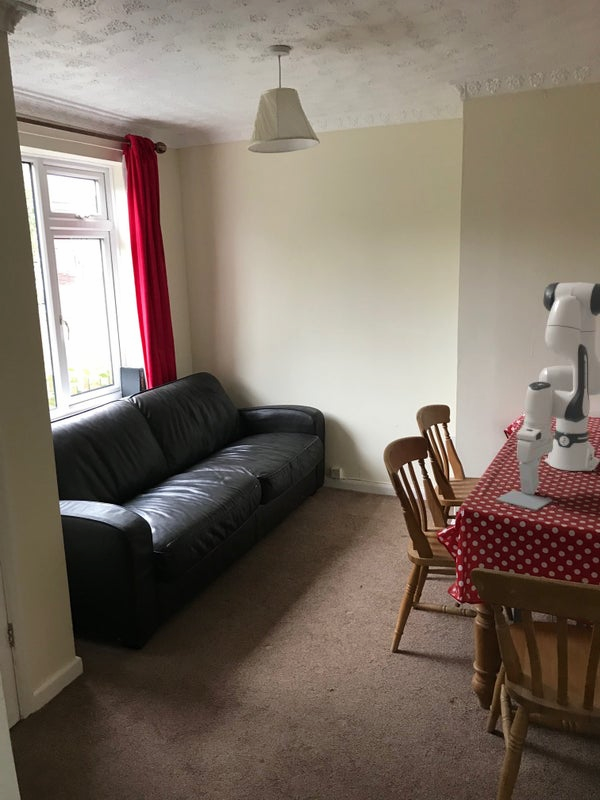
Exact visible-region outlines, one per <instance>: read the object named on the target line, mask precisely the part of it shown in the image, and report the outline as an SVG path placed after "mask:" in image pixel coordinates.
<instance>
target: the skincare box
mask: <svg viewBox="0 0 600 800" xmlns="http://www.w3.org/2000/svg"><path fill="white" fill-rule="evenodd" d="M518 467H519V478H520V490H521V491H520V492H522V493H526V494H531V495H535V493H536V491H537V489H538V488H539V487H540V481H539V480H540V479H539V478H540V477H539V469H538V462H537V456H536V457H535V459H534V460H532V461H531V462H529V463H524V462H519V463H518Z"/></svg>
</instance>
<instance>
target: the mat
mask: <svg viewBox="0 0 600 800" xmlns="http://www.w3.org/2000/svg"><path fill="white" fill-rule="evenodd" d="M496 500H497V502H499V501H501V502H500V503H503V502H505V503H504V504H507V503H509V504H508V505H511V504H513V505H512V506H515V505H516V506H515V507H519V508H523V509H526V508H527V510H531V511H535V512H536V511H538V510H540V509H542V508H544V507H545V506H546V505H548V504H551V503H552V502H553V499H551V498H547V497H543V496H538V495H535V494H534V495H531V494H526V493H522V492H521V491H518V490H513V489H512V490H510V491H508V492H506V493H505V494H503V495H501V496H499V497H497V498H495V501H496Z"/></svg>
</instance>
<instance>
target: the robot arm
mask: <svg viewBox="0 0 600 800" xmlns="http://www.w3.org/2000/svg"><path fill="white" fill-rule="evenodd" d="M542 299H543V300H542V304H543V306H544V308H545V309H546V310H547V311H548V312H549V315H548V319H547V322H546V327H545V334H544V341H545V342H544V343H545V344H546V346H547V348H548V349H549V350H550V351H551V352H552V353H554V354H556V355H558V356H560V357H562V358H564V359H566V360H567V361H568V362H569V363H570V364H571V365H553V366H552V365H551V366H548V367H544V368H542V370H541V372H540V373H539V377H538V381H535V382H531V383H530V384H528V386H527V390H526V394H525V398H524V399H525V400H524V412H525V415H524V419H523V424H522V425H521V428H520V429H518V431H517V433H516V439H518V440H517V444H516V459H517V461H518V462H519V463H520V462H524V463H529V462H531V461H532V460H534V459H535V457H536V456H537V462H538V470H539V469H540V464H541V460H542V457H543V456H545V455H547V454H548V456H547V457H545V459H544V462H545V463H547V464H548V465H549V466H551V467H552V468H553V469H554V468H555V469H557V470H558V469H559V470H563V471H573V472H577V471H578V472H579V471H580V472H582V471H583V472H587V471H590V472H592V470H594V471H595V470H596V468H597V467H598V465H599V463H600V458H598V457H595V447H594V446H593V445H592V444H591V442H590V440H589V436H590V435H591V431H592V430H591V429H588V420H589V413H590V410H591V409H590V406H591V405H590V396H597V395H600V361H599V358H598V357H597V354H596V353H597V352H596V347H595V346H596V332H597V316H598V315H600V283H592V282H581V281H577V282H562V283H560V282H558V281H557V282H552V283H549V284H548V285H547V286H546V287H545V290H544V292H543V296H542ZM552 419H555V420H556V421H555V428H554V431H553V432H552Z"/></svg>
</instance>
